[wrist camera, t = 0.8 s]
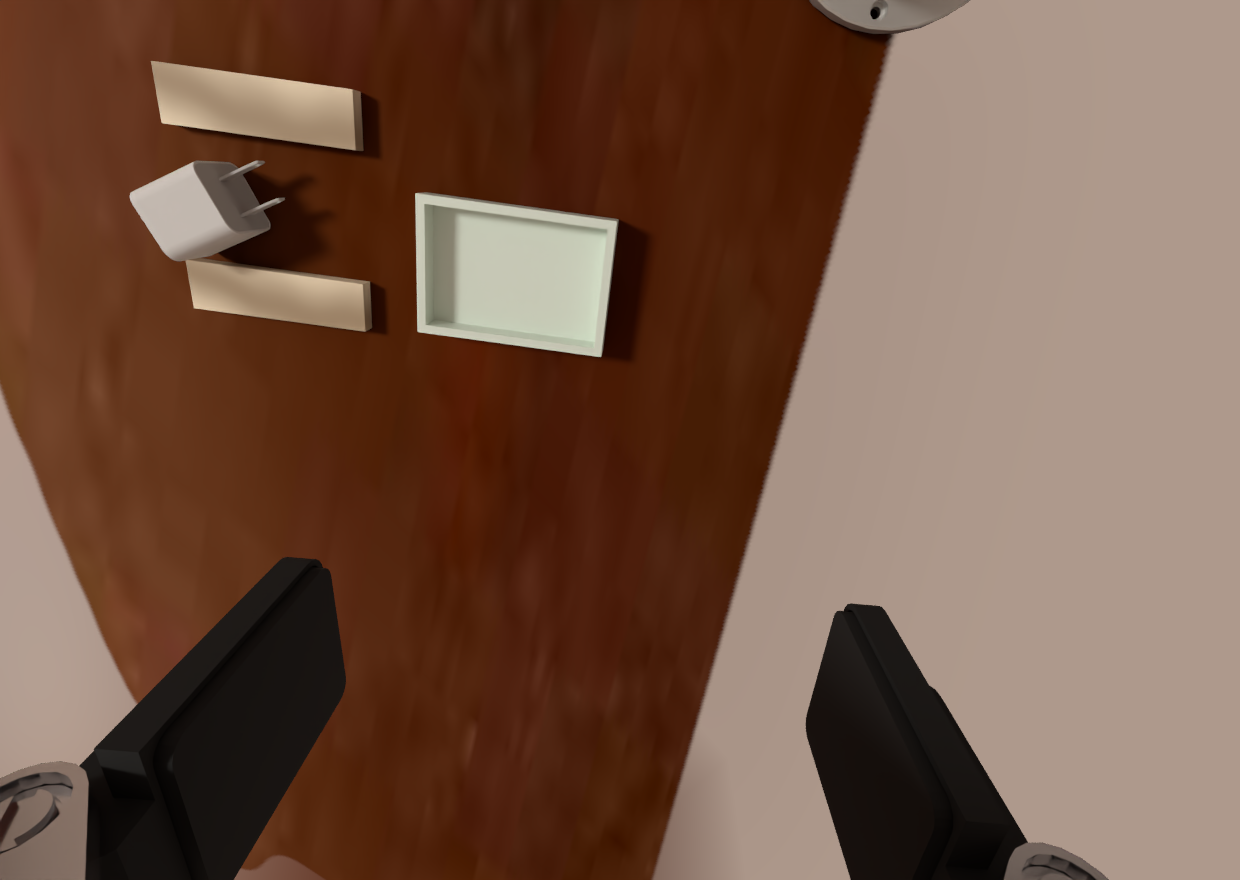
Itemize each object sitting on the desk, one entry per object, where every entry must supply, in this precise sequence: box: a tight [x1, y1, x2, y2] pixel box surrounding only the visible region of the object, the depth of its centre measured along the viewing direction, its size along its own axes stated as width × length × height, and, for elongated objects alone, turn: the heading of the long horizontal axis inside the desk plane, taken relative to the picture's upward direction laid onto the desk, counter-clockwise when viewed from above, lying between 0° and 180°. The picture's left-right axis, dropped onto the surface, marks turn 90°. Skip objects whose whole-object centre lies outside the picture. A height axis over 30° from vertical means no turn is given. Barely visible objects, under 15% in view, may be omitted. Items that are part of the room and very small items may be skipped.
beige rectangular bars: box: [151, 61, 372, 332], centre depth 35 cm, size 14×11×1 cm
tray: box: [415, 193, 619, 357], centre depth 35 cm, size 8×12×2 cm
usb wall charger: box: [130, 161, 285, 261], centre depth 34 cm, size 4×7×4 cm, turn 110°
